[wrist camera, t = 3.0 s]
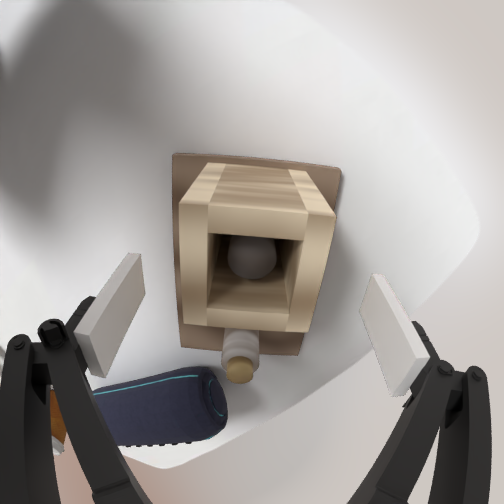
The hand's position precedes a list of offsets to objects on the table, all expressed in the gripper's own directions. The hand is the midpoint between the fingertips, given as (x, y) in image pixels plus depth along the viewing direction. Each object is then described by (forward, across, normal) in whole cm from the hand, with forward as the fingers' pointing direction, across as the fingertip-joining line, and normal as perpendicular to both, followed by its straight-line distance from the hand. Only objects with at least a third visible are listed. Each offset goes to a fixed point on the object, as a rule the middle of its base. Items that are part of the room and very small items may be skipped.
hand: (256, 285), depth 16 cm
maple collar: (+10, 0, 0) cm, 10 cm away
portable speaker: (+12, -13, -28) cm, 33 cm away
